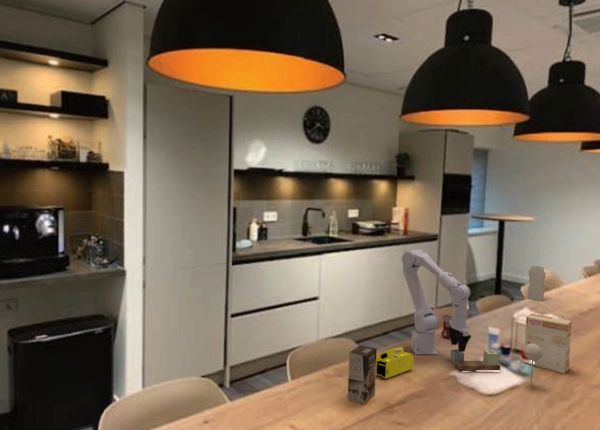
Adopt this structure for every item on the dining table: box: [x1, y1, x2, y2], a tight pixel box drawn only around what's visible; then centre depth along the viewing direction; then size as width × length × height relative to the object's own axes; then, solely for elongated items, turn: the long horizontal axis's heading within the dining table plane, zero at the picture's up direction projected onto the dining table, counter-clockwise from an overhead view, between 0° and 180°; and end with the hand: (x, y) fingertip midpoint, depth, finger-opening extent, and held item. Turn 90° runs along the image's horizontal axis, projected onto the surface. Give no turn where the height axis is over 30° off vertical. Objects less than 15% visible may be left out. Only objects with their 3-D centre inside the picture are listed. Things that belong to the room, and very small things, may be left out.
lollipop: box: [523, 344, 542, 385], centre depth 166 cm, size 6×6×15 cm
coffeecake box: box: [523, 313, 572, 374], centre depth 183 cm, size 15×7×20 cm, turn 47°
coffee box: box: [347, 344, 377, 405], centre depth 153 cm, size 9×6×16 cm
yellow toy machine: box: [376, 346, 414, 380], centre depth 173 cm, size 16×6×8 cm, turn 129°
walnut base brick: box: [454, 360, 501, 373], centre depth 179 cm, size 16×5×2 cm, turn 93°
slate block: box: [449, 348, 465, 365], centre depth 186 cm, size 4×4×5 cm
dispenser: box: [527, 265, 547, 302], centre depth 293 cm, size 11×4×22 cm, turn 38°
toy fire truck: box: [440, 314, 461, 340], centre depth 214 cm, size 7×12×10 cm, turn 38°
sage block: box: [482, 349, 499, 365], centre depth 179 cm, size 4×4×5 cm
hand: (457, 347), depth 185 cm, fingers open, 7 cm apart
